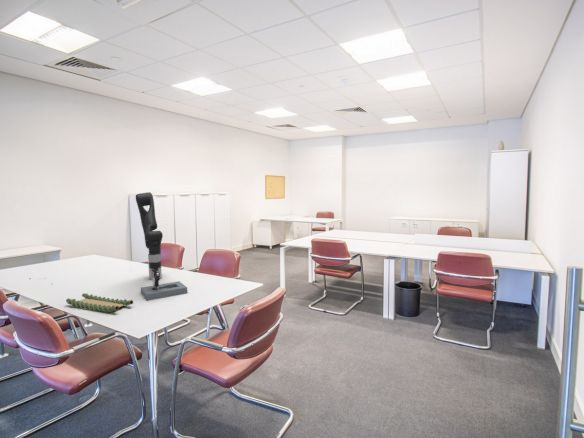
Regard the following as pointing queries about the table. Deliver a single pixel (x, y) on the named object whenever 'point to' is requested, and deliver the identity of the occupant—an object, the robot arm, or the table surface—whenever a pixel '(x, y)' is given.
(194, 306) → the table surface
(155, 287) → the steel peg
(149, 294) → the keyhole plate
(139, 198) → the robot arm
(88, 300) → the stretcher
